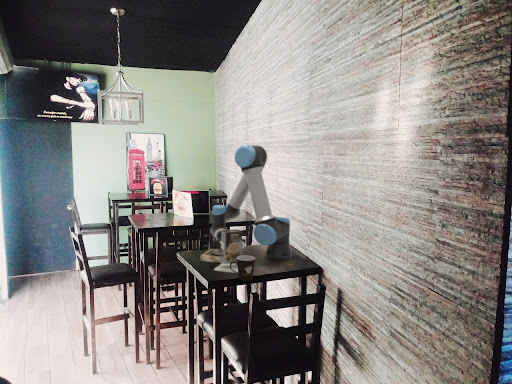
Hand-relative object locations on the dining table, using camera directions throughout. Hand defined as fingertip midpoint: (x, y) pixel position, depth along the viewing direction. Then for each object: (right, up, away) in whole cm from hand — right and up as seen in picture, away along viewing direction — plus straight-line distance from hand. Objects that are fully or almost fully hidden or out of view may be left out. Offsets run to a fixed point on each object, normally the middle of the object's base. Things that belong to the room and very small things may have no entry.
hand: (233, 246), depth 190 cm
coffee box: (-2, -9, +5) cm, 10 cm away
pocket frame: (-10, -10, +23) cm, 27 cm away
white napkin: (-2, -12, +5) cm, 13 cm away
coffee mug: (+5, -14, -10) cm, 18 cm away
